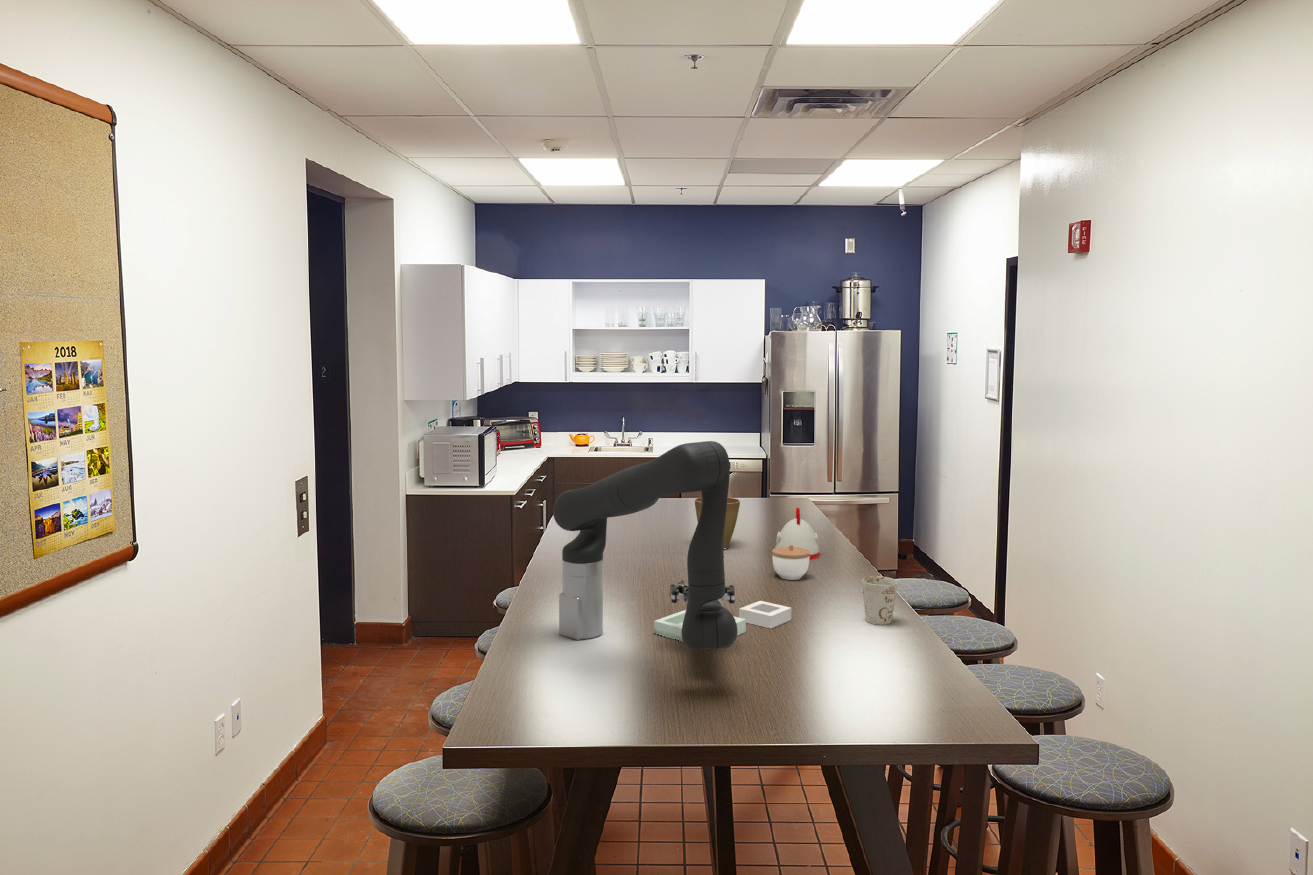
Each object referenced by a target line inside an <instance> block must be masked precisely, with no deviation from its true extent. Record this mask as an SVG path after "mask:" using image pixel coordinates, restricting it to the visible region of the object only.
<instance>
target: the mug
mask: <svg viewBox="0 0 1313 875" xmlns="http://www.w3.org/2000/svg"><path fill="white" fill-rule="evenodd" d="M861 581H862V582H861V585H862V586H861V588H862V595H863V596H862V597H863V606H864V615H865V616H864V617H865V621H866V622H867V623H868V624H873V625H879V626H880V625H881V626H883V625H885V626H886V625H890V624H891V623H892V621H893V614H894V609H895V603H896V597H897V592H898V584H899V583H898V580H896V579H895V578H892V577H888V576H881V575H879V576H878V575H872V576H871V575H870V576H865V577H863V578H862V579H861Z"/></svg>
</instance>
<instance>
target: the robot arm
mask: <svg viewBox="0 0 1313 875" xmlns="http://www.w3.org/2000/svg"><path fill="white" fill-rule="evenodd" d="M730 463H731V462H730V458H729V454H728V451H727V449H726V448H725V447H724V446H723V445H722V444H721V443H719V442H717V441H714V440H706V441H698V442H697V441H696V442H688V443H687V442H685V443H683V444H679V445H676V446H674V447H673V448H671V449H669V450H667V451H666V452H664V453H662V454H661V455H660V456H658V457H656V458H655V459H652V460H650V461H646V462H643V463H639V464H635V465H633V466H630V467H626V468H625V469H621V470H619V471H617V472H615V473H613V474H610V475H608V476H606V477H604V478H602V479H600V480H598V481H595V482H593V483H592V484H590V485H587V486H585V487H581V488H577V489H568V490H565V491H563V492H561V493H560V494H559V495H558V496H557V498H556V499H555V501H554V504H553V507H552V515H553V519H554V521H555V523H556V524H557V526H558V527H560V528H561V529H563V530H564V531H567V532H577V531H579V533H578V535H577V536H576V537H575V538H574V539H573V540H571V541H570V542H568V543H567V544H565V545H564V546H563V548H562V552H561V556H562V557H561V558H562V562H561V564H562V565H561V566H562V568H561V570H562V572H561V573H562V574H561V577H562V578H561V579H562V584H561V585H562V586H561V587H562V588H561V589H562V590H561V591H562V592H560V593H559V594H558V625H559V626H558V634H559V635H560V636H563V637H567V638H570V639H574V640H576V641H579V640H582V639H583V640H584V639H585V640H586V639H594V638H596V637H599V636H601V635H602V634H603V632H604V622H603V620H604V594H603V593H604V576H603V575H604V552H605V548H606V543H607V530H608V529H607V528H608V527H607V526H608V518H616V517H622V516H627V515H632V514H635V513H637V512H638V513H639V512H642V511H644V510H647V509H648V508H651V507H652V506H654V505H655V504H656V503H657V502H658V501H659V499H660V498H662V497H665V496H669V495H671V496H672V495H676V494H687V493H694V492H701V497H702V508H701V514H700V518H699V521H697V524H696V528H695V530H694V533H693V536H692V538H691V541H690V543H689V546H688V550H687V557H686V558H687V559H686V569H687V584H685V580H684V579H683V580H682V579H681V580H680V582H678V583H677V585H675V584H670V585H669V588H670V589H669V597H670V601H671V603H673V604H677V603H678V602H679V600H683V601H684V602H685V603H686V607H685V610H686V612H685V616H684V620H683V625H682V632H681V633H682V640H683V642H682V643H683V644H684V645H685V646H686V647H687V649H689V650H691V651H699V650H700V651H701V650H702V651H703V650H716V649H728V648H730V647H731V646H733V645H734V644H735V642H736V640H737V638H738V635H737V624H736V621H735V619H734V617H735V616H734V615H733V614H732V612H731V611H730V610H729V609H727V608H725V607H724V602H723V600H724V601H725V600H726V602H728V603H729V604H730V605H731V604H732V605H733V604H735V602H736V600H735V599H736V598H735V597H736V595H735V594H736V593H735V592H736V590H735V585H732V584H729V585H728V586H727V585H726V575H725V574H726V573H725V560H724V558H725V557H724V555H725V554H724V553H725V552H724V550H723V545H724V529H725V519H726V510H727V499H728V497H729V489H730V488H729V486H730V476H731V475H730V473H731V466H730ZM733 616H734V617H733Z"/></svg>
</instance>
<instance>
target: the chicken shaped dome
mask: <svg viewBox="0 0 1313 875" xmlns="http://www.w3.org/2000/svg"><path fill="white" fill-rule="evenodd" d="M800 511H801V510H800V507H795V518H792V519H790V520H789V521H788V522H786V524H785V525H784V526H783V527H782V529H781V530H780V531H778V532H777V534H776V540H775V546H774V548H778V547H789V545H793V547H799V548H804V549H807V550H809V551H810V558H809V561H810V560H811V561H812V560H816V559H819V557H820V542H819V537H818V534H817V532H815V531H814V529H813V528H812V526H811V525H810V524H809V523H808V522H807V521H806V520H804V519H803V518H801V512H800Z"/></svg>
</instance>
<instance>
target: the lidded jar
mask: <svg viewBox="0 0 1313 875" xmlns="http://www.w3.org/2000/svg"><path fill="white" fill-rule="evenodd" d="M771 554H772V566H773V569H774V571H775V573H776V574H777V575H778V576H779V578H780V577H781V579H783V580H789V581H796V580H801V578H802V577H803V576H804V575H805V574H806V573H807V571H808V569H809V565H810V560H809V558H810V551H809V550H807V549H804V548H799V547H793V545H789V547H778V548H775V547H774V548H773V549H772V550H771Z"/></svg>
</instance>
